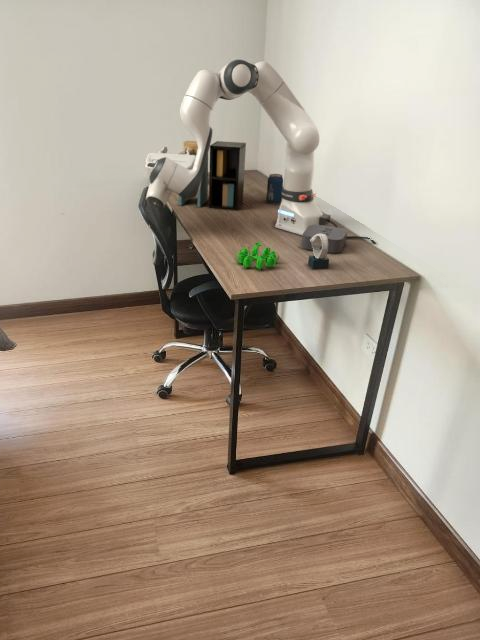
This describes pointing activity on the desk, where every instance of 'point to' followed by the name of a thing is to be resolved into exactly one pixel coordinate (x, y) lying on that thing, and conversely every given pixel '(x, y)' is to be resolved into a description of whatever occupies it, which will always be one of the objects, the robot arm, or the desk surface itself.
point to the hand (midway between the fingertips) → (176, 148)
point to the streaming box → (333, 234)
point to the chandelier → (257, 257)
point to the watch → (319, 252)
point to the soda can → (274, 188)
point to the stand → (203, 188)
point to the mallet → (190, 147)
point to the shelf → (226, 175)
